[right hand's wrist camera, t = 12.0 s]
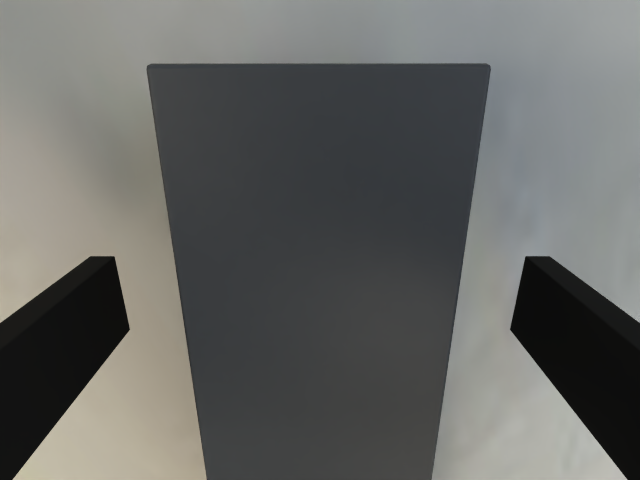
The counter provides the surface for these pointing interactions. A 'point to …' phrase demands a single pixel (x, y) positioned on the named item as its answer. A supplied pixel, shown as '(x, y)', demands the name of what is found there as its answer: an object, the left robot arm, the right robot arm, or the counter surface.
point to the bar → (318, 257)
